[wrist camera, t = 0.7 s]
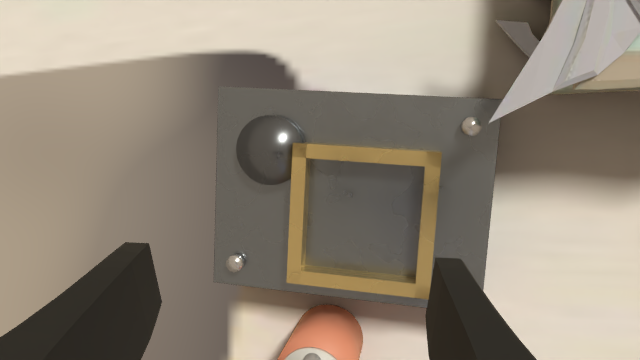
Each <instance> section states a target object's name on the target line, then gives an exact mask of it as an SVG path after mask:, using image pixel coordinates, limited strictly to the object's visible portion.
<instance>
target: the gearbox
mask: <svg viewBox="0 0 640 360" xmlns="http://www.w3.org/2000/svg"><path fill="white" fill-rule="evenodd" d="M218 88H219V89H218V127H217V168H216V169H217V170H216V210H215V250H214V282H218V283H226V284H234V285H242V286H250V287H258V288H267V289H275V290H283V291H291V292H300V293H308V294H316V295H324V296H333V297H341V298H349V299H358V300H366V301H374V302H382V303H391V304H399V305H407V306H415V307H424V308H427V305H428V299H429V293H430V287H431V281H432V274H433V268H434V262H435V257H439V258H459V259H461V260H462V261H463V262H464V263H465V265H466V266H467V268H468V269H469V271H470V272H471V274H472V276H473V277H474V279H475V280H476V282H477V283H478V285H479V286H480V288H481V289H482V290H483V287H484V277H485V267H486V258H487V248H488V238H489V228H490V218H491V208H492V198H493V188H494V179H495V169H496V159H497V149H498V139H499V129H500V119H501V117H500V118H498V119H496V120H494V121H492V122H490V123H489V121H490V120H491V118H492V117H493V115H494V113H495V112H496V110H497V109H498V107H499V106H500V104H501V102H502V99H482V98H460V97H439V96H417V95H395V94H373V93H351V92H330V91H308V90H285V89H264V88H263V89H262V88H241V87H220V86H219V87H218Z"/></svg>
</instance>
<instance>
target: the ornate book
mask: <svg viewBox="0 0 640 360" xmlns="http://www.w3.org/2000/svg"><path fill="white" fill-rule="evenodd" d="M496 22H497V24H498V25H499V26H500V27H501V28H502V29H503V31H504V32H505V33H506V34H507V35H508V36H509V37H510V39H511V40H512V41H513V42H514V43H515V44H516V45H517V46H518V47H519V48H520V49H521V50H522V51H523V52H524V53H525V54H526V55H527V56H528V57H529V60H528V61H527V63H526V64H525V66H524V68H523V69H522V71H521V72H520V74H519V76H518V77H517V79H516V80H515V82H514V83H513V85H512V87H511V88H510V90H509V91H508V93H507V94H506V96H505V98H504V99H503V101H502V102H501V104H500V106H499V107H498V109H497V110H496V112H495V113H494V115H493V117H492V118H491V120H490V121H489V123H490V122H492V121H494V120H496V119H498V118H500V117H502V116H504V115H506V114H508V113H510V112H512V111H514V110H516V109H519V108H521V107H523V106H525V105H527V104H529V103H531V102H533V101H535V100H537V99H539V98H541V97H543V96H545V95H548V94H555V95H563V94H579V93H598V92H617V91H640V0H551V10H550V22H549V26H548V28H547V30H546V31H545V33H544V35H543V37H542V39H541V41H539V40H538V39H537V38H536V37H535V36H534V35H533V34H532V31H531V29H530V26H529V23H528V22H516V21H503V20H496Z"/></svg>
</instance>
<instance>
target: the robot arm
mask: <svg viewBox="0 0 640 360" xmlns="http://www.w3.org/2000/svg"><path fill="white" fill-rule="evenodd" d="M161 303H162V300H161V296H160V292H159V287H158V282H157V278H156V273H155V269H154V264H153V260H152V255H151V250H150V246H149V244H148V243H129V242H125V243H124V244H123V245H122V246H120V247H119V248H118V249H116V250H115V251H114V252H113V253H112V254H110V255H109V256H108V257H106V258H105V259H104V260H103V261H102V262H100V263H99V264H98V265H97V266H95V267H94V268H93V269H92V270H91V271H89V272H88V273H87V274H86V275H84V276H83V277H82V278H81V279H79V280H78V281H77V282H76V283H74V284H73V285H72V286H71V287H70V288H68V289H67V290H66V291H64V292H63V293H62V294H60V295H59V296H58V297H57V298H55V299H54V300H52V301H51V302H50V303H48V304H47V305H46V306H44V307H43V308H42V309H40V310H39V311H38V312H36V313H35V314H33V315H32V316H31V317H29V318H28V319H27V320H25V321H24V322H23V323H21V324H20V325H18V326H17V327H15V328H14V329H12V330H11V331H9V332H8V333H6V334H5V335H3V336H2V337H0V360H141V358H142V356H143V354H144V352H145V349H146V347H147V345H148V343H149V340H150V338H151V335H152V332H153V329H154V326H155V323H156V320H157V316H158V313H159V310H160V306H161ZM426 329H427V341H428V352H429V359H430V360H537V359H536V358H535V357H534V356H533V355H532V354H531V353H530V351H529V350H528V349H527V348H526V347H525V346H524V344H523V343H522V342H521V341H520V340H519V338H518V337H517V336H516V335H515V333H514V332H513V331H512V330H511V328H510V327H509V326H508V324H507V323H506V322H505V321H504V319H503V318H502V317H501V315H500V314H499V313H498V311H497V310H496V309H495V307H494V306H493V305H492V303H491V302H490V300H489V299H488V298H487V296H486V295H485V293H484V292H483V290H482V289H481V288H480V286H479V285H478V283H477V282H476V280H475V279H474V277H473V276H472V274H471V272H470V271H469V269H468V268H467V266H466V265H465V263H464V262H463V261H462V260H461V259H459V258H439V257H435V262H434V268H433V274H432V281H431V287H430V293H429V299H428V305H427V311H426Z"/></svg>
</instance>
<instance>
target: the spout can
mask: <svg viewBox="0 0 640 360" xmlns="http://www.w3.org/2000/svg"><path fill="white" fill-rule="evenodd" d="M362 344H363V335H362V330H361V327H360V325H359V323H358V321H357V320H356V319H355V317H354V316H353V315H352V314H351V313H349V312H348V311H347V310H345V309H343V308H341V307H339V306H335V305H328V304H326V305H319V306H316V307H313V308H311V309H310V310H308V311H307V312H306V313H305V314H304V315H303V316H302V317H301V319H300V321H299V323H298V324H297V326H296V328H295V329H294V331H293V333H292V335H291V336H290V338H289V340H288V342H287V343H286V345H285V347H284V349H283V350H282V352H281V354H280V356H279V357H278V359H277V360H359V357H360V353H361V349H362Z"/></svg>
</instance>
